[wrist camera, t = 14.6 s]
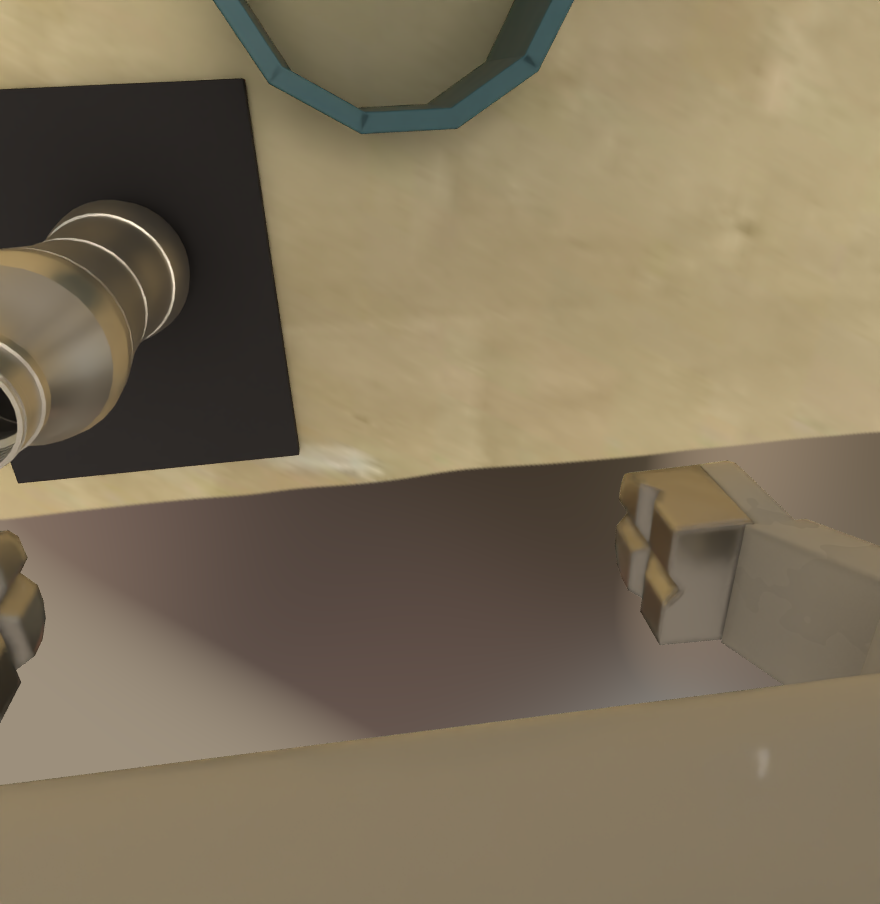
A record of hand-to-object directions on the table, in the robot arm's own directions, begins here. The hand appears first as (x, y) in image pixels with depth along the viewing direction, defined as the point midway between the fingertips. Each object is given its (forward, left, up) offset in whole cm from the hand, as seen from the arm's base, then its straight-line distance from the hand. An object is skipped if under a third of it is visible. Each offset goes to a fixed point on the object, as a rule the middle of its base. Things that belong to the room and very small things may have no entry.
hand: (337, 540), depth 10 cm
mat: (+4, -11, -31) cm, 34 cm away
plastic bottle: (+2, -10, -31) cm, 32 cm away
